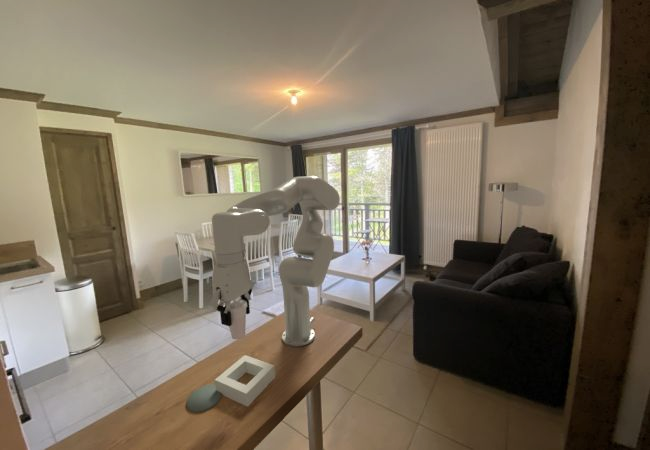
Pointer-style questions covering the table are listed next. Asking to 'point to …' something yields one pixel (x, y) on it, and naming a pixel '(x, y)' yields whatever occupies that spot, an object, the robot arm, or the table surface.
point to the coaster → (203, 398)
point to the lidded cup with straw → (238, 318)
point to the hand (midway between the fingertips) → (236, 318)
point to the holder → (250, 391)
